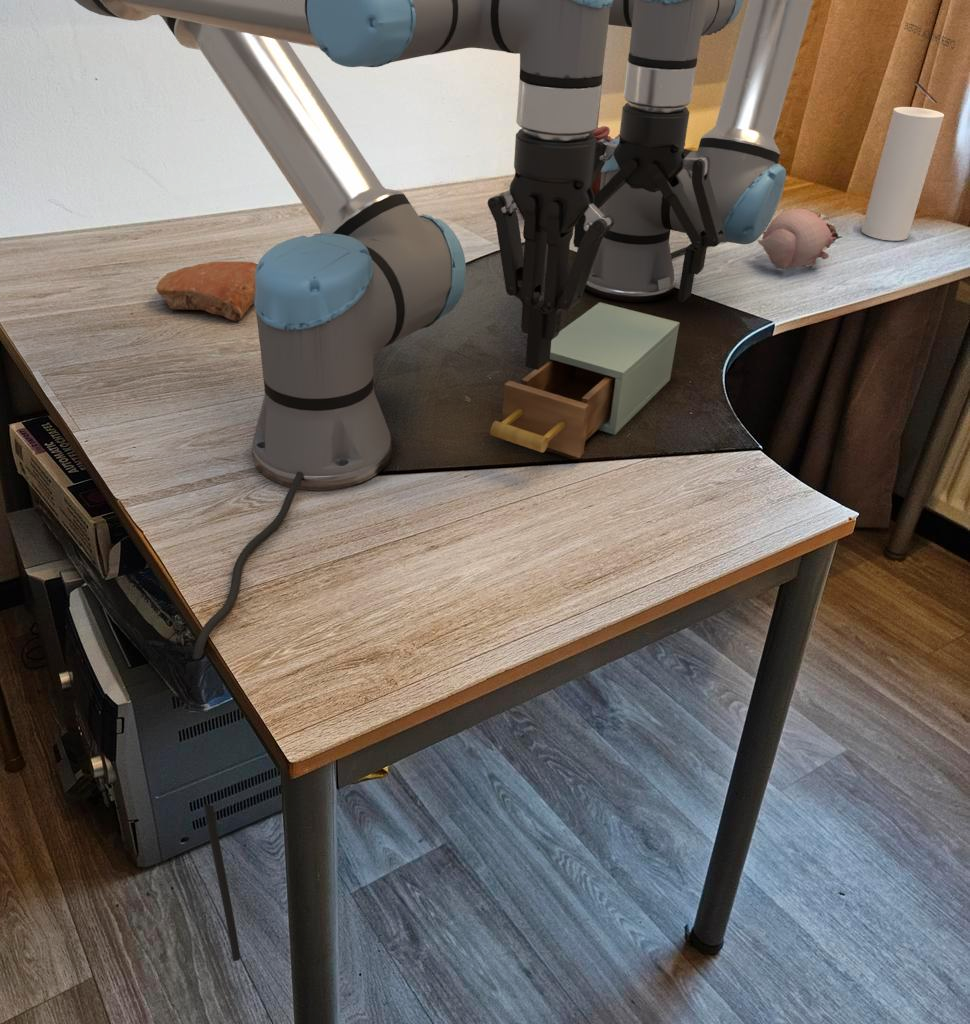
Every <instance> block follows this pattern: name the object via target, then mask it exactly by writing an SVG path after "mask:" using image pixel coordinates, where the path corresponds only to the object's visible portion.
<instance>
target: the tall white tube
mask: <svg viewBox="0 0 970 1024" xmlns="http://www.w3.org/2000/svg"><path fill="white" fill-rule="evenodd" d="M904 30H905V31H907V32H910V33H912V32H913V34H915V33H916V34H917V35H918V36H921V37H923V38H924V37H925V39H928V40H930V41H931V40H932V41H933V42H937V40H938V44H939V43H940V44H942V45H943V46H946V47H947V48H948V47H949V49H950V48H951V49H952V50H953V49H954V48H955V45H956V40H954V39H951V38H948V37H946V36H942V37H941V34H938V35H937V33H934V32H933V31H931V30H926V29H923V34H921V31H922V27H920V26H918V25H915V24H912V23H909V22H908V21H907V22H905V26H904ZM927 33H928V35H927ZM940 37H941V38H940ZM940 39H941V42H940ZM945 39H946V40H945ZM944 42H945V43H944ZM952 43H954V44H953V46H952ZM913 84H914V85H915V86H916V87H917V88H919V90H920V91H921V92H922V95H923V96H924V97H926V98H928V99H929V100H930V101H931V102H932V103H934V104H937V103H938V101H937V100H936V99H935V98H934V97H932V95H931V94H930V93H929V92H928V91H927V90H926V89H925V88H924V87H923V86H922V85H921V84H920V83H919V82H918V81H915V80H914V82H913ZM944 117H945V114H944V113H943V112H940V111H937V110H936V109H935V110H934V109H929V108H924V107H915V106H914V107H913V106H897V107H894V108H893V110H892V114H891V118H890V122H889V126H888V129H887V133H886V137H885V140H884V145H883V148H882V151H881V155H880V159H879V163H878V166H877V170H876V174H875V177H874V182H873V185H872V189H871V193H870V196H869V201H868V203H867V208H866V212H865V215H864V220H863V222H862V227H861V232H862V233H863V234H864V235H866V236H868V237H871V238H873V239H878V240H884V241H893V242H895V241H897V242H898V241H899V242H900V241H905V240H907V239H909V236H910V233H911V229H912V226H913V222H914V219H915V215H916V211H917V210H918V209H917V208H918V206H919V202H920V198H921V195H922V191H923V188H924V184H925V182H926V178H927V175H928V171H929V169H930V165H931V161H932V158H933V155H934V151H935V148H936V145H937V142H938V141H937V140H938V138H939V134H940V130H941V127H942V124H943V121H944Z"/></svg>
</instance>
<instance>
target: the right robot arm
mask: <svg viewBox="0 0 970 1024" xmlns="http://www.w3.org/2000/svg"><path fill="white" fill-rule="evenodd" d="M744 1H745V0H613V4H611V5H612V6H611V7H610V15H609V23H608V26H617V27H624V28H625V27H626V28H631V31H630V32H631V33H630V41H629V42H630V43H629V50H628V51H629V52H628V58H627V66H626V74H625V83H624V89H623V99H624V100H625V101H626V103H624V105H623V106H622V109H621V111H622V112H621V119H620V126H619V134H620V137H618V138H616V139H615V138H613V139H614V140H612V141H611V142H610V141H609V140H608V139H607V138H604V139H601V140H599V141H597V142H596V150H595V160H594V169H593V176H592V180H591V186H592V184H593V183H594V181H595V179H596V178H597V176H598V174H599V173H600V171H601V172H602V174H601V184H600V191H599V192H598V193H597V194H596V195H595V196H594V205H595V206H596V207H597V208H598V209H599V210H600V211H601V212H602V213H603V214H604V215H607V214H610V215H612V216H613V217H614V220H615V222H614V225H613V226H612V227H611V228H610V230H609V231H608V232H607V233H606V234H605V236H604V237H603V238H602V241H601V244H600V247H599V250H598V253H597V255H596V258H595V261H594V264H593V267H592V269H591V272H590V275H589V278H588V281H587V283H586V286H585V289H584V291H587V292H589V293H591V294H593V295H595V296H597V297H600V298H603V299H608V300H612V301H617V302H625V303H626V302H628V303H629V302H630V303H646V302H647V303H648V302H654V301H659V300H662V299H664V298H667V297H669V296H670V295H671V294H672V293H673V291H674V286H675V281H676V279H675V271H674V265H673V259H672V258H674V257H677V256H679V255H682V254H684V256H683V262H682V269H681V274H680V282H679V289H678V293H677V301H679V302H685V301H686V300H687V299H688V298H689V297H691V296H692V292H693V286H694V279H695V275H696V276H697V275H699V274H700V273H701V272H702V271H703V270H704V267H705V262H706V256H707V251H708V248H709V247H710V248H711V247H712V248H715V247H717V246H718V245H720V244H721V243H723V244H724V243H732V244H737V245H750V244H753V243H754V242H756V241H758V240H759V239H760V237H761V236H763V233H764V232H766V230H767V228H768V227H769V225H770V224H771V222H772V220H773V217H774V215H775V213H776V211H777V208H778V206H779V204H780V201H781V199H782V195H783V193H784V185H785V184H786V179H787V170H786V168H785V167H784V166H783V165H781V164H780V163H779V160H780V157H781V150H780V149H779V147H778V145H777V144H776V141H775V135H776V131H777V129H778V125H779V121H780V118H781V114H782V111H783V107H784V104H785V100H786V97H787V93H788V89H789V87H790V83H791V79H792V77H793V74H794V73H793V72H794V69H795V66H796V62H797V59H798V55H799V51H800V48H801V44H802V41H803V37H804V35H805V31H806V27H807V23H808V21H809V17H810V13H811V10H812V6H813V3H814V0H748V3H747V6H746V10H745V14H744V16H743V17H744V18H743V21H742V24H741V28H740V32H739V35H738V40H737V44H736V47H735V50H734V54H733V57H732V62H731V65H730V69H729V73H728V76H727V81H726V84H725V88H724V92H723V96H722V99H721V102H720V107H719V110H718V113H717V118H716V122H715V125H714V127H713V128H711V130H709V131H707V132H706V133H705V134H703V135H702V136H700V137H701V138H700V140H699V144H698V147H697V150H692V149H686V148H685V146H686V138H687V132H688V126H689V125H688V124H689V118H690V111H689V109H688V107H687V106H689V105H690V104H691V102H692V98H693V90H694V86H695V78H696V71H697V65H698V57H699V50H700V46H701V45H700V44H701V39H702V37H704V36H711V35H713V34H717V33H718V32H721V31H722V30H723V29H725V28H726V27H727V26H729V25H730V24H731V23H732V22H733V21H735V19H736V18H737V16H738V15H739V13H740V12H741V9H742V7H743V4H744ZM585 220H586V218H585V215H584V216H583V218H582V219H581V220H580V221H579V222H578V223H577V224H576V226H575V227H574V230H573V242H572V243H573V246H574V248H578V247H579V244H580V242H581V239H582V237H583V236H584V234H585V233H586V231H584V223H585ZM671 231H673V232H678V233H682V234H686V236H687V237H688V239H689V241H690V244H689V245H686V246H685V247H681V248H679V249H678V250H675V251H672V252H671V246H670V236H671Z"/></svg>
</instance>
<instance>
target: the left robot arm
mask: <svg viewBox="0 0 970 1024" xmlns="http://www.w3.org/2000/svg"><path fill="white" fill-rule="evenodd" d="M74 2H76V3H77V4H78V5H79V6H81V7H83V8H84V9H86V10H87V11H89V12H92V13H94V14H97V15H99V16H105V17H111V18H117V19H122V20H126V21H127V20H128V21H135V22H136V21H137V22H138V21H143V20H146V19H149V18H150V17H152V16H159V17H161V18H162V20H163V21H164V23H165V24H166V26H167V27H168V29H169V30H170V31H171V33H172V34H173V36H174V37H175V39H176V41H177V42H178V43H179V44H180V45H181V46H182V47H185V48H187V49H191V50H192V49H193V50H198V51H200V52H201V53H202V55H203V56H204V58H205V59H206V61H207V62H208V64H209V65H210V67H211V68H212V70H213V72H214V73H215V74H216V76H217V77H218V79H219V80H220V82H221V83H222V85H223V86H224V88H225V90H226V91H227V93H228V94H229V96H230V97H231V98H232V100H233V101H234V103H235V105H237V108H238V109H239V110H240V112H241V113H242V115H243V116H244V119H245V120H246V121H247V122H248V124H249V126H250V127H251V128H252V130H253V132H254V133H255V135H256V136H257V138H258V140H260V142H261V144H262V145H263V147H264V148H265V150H266V151H267V152H268V154H269V156H270V157H271V159H272V160H273V161H274V163H275V164H276V166H277V167H278V169H279V171H280V172H281V173H282V175H283V176H284V178H285V179H286V181H287V182H288V184H289V186H290V187H291V189H292V190H293V192H294V193H295V195H296V196H297V197H298V199H299V200H300V202H301V204H302V205H303V206H304V209H306V211H307V213H308V214H309V216H310V217H311V219H312V220H313V222H314V223H315V224H316V226H317V228H318V229H319V230H320V233H314V234H313V235H311V236H306V235H300V236H296V237H293V238H289V239H287V240H284V241H282V242H280V243H278V244H276V245H273V246H272V247H271V248H270V249H268V250H267V251H266V252H265V253H264V254H263V255H262V256H261V257H260V259H259V261H258V262H257V264H258V265H257V267H256V271H255V289H256V291H255V297H254V303H253V305H254V310H255V313H256V322H257V331H258V340H259V349H260V357H261V358H260V359H261V368H262V379H263V388H264V390H263V391H264V396H263V400H262V404H261V408H260V412H259V415H258V419H257V423H256V427H255V430H254V434H253V439H252V455H253V460H254V464H255V467H256V468H257V470H258V471H259V472H260V473H261V474H262V475H263V476H265V477H266V478H268V479H269V480H271V481H273V482H275V483H278V484H280V485H283V486H286V487H289V488H288V491H287V493H286V494H285V495H286V496H285V497H284V500H283V503H282V505H281V507H280V510H279V512H278V513H277V514H276V516H275V517H274V519H273V520H272V521H271V523H270V524H268V526H266V527H265V528H264V529H263V530H262V531H260V532H259V533H258V534H257V535H256V536H254V537H253V538H252V539H251V540H250V541H249V542H248V543H246V545H245V547H244V548H243V549H242V550H241V552H240V553H239V555H238V557H237V559H236V561H235V563H234V566H233V570H232V575H231V580H230V587H229V591H228V594H227V598H226V600H225V602H224V604H223V605H222V607H221V608H220V609H219V610H218V611H217V612H216V613H214V614H213V615H212V616H211V617H210V618H209V619H208V620H207V622H206V623H205V624H204V625H203V627H202V629H201V631H200V632H199V634H198V636H197V639H196V640H195V645H194V648H193V652H192V656H191V657H192V659H193V660H199V659H201V658H202V657H203V654H204V651H205V647H206V643H207V641H208V639H209V636H210V635H211V633H212V632H213V631H214V629H215V628H216V627H217V626H218V625H219V624H220V623H221V622H222V621H223V620H224V619H225V618H226V617H227V616H228V615H229V613H231V611H232V609H233V607H234V606H235V603H236V601H237V599H238V597H239V592H240V587H241V582H242V574H243V569H244V566H245V564H246V562H247V559H248V558H249V557H250V555H251V553H252V552H253V551H254V550H255V549H257V547H258V546H260V545H261V544H262V543H263V542H264V541H265V540H267V539H268V538H269V537H270V536H271V535H272V534H274V532H276V530H277V529H278V528H279V527H280V526H281V524H282V523H283V522H284V520H285V519H286V517H287V515H288V513H289V511H290V509H291V506H292V503H293V501H294V498H295V496H296V494H297V491H298V489H301V490H312V491H314V490H315V491H323V490H327V491H328V490H337V489H342V488H348V487H351V486H355V485H358V484H361V483H363V482H366V481H368V480H370V479H373V478H374V477H375V476H377V475H378V474H380V473H381V472H382V471H383V470H384V469H385V468H386V467H387V466H388V464H389V463H390V461H391V458H392V436H391V435H392V434H391V432H390V430H389V427H388V424H387V422H386V419H385V417H384V413H383V411H382V408H381V406H380V403H379V400H378V398H377V395H376V393H375V385H374V354H375V353H376V352H378V351H380V350H382V349H384V348H385V347H387V346H390V345H392V344H394V343H396V342H398V341H399V340H401V339H404V338H405V337H407V336H409V335H411V334H413V333H415V332H417V331H420V330H422V329H427V328H430V327H431V326H433V325H434V324H435V323H436V322H437V321H439V320H440V319H441V318H443V317H444V316H446V315H448V314H449V313H450V312H451V311H452V310H453V309H454V308H456V306H457V305H458V303H459V301H460V300H461V298H462V295H463V293H464V291H465V287H466V283H465V277H466V275H467V265H466V257H465V254H464V250H463V247H462V244H461V242H460V240H459V237H458V236H457V235H456V233H455V232H454V231H453V229H452V227H450V226H449V225H448V224H447V223H446V222H444V221H443V220H442V219H440V218H434V217H433V216H432V215H427V214H420V215H419V214H418V213H417V211H416V209H415V207H414V206H413V205H412V203H411V202H410V201H409V199H408V198H407V196H406V194H405V192H403V191H400V190H396V189H390V188H386V187H385V186H383V185H382V182H381V181H380V180H379V177H377V175H376V174H375V172H374V171H373V169H372V168H371V166H370V164H369V163H368V161H367V160H366V158H365V156H364V155H363V154H362V152H361V151H360V149H359V148H358V146H357V145H356V143H355V142H354V140H353V139H352V137H351V136H350V134H349V132H348V131H347V130H346V127H344V125H343V123H342V122H341V121H340V119H339V117H338V116H337V114H336V113H335V111H334V110H333V108H332V107H331V105H330V104H329V101H328V100H327V99H326V98H325V96H324V94H323V93H322V91H321V90H320V88H319V87H318V85H317V84H316V82H315V81H314V80H313V77H312V76H311V74H310V73H309V72H308V70H307V68H306V67H305V65H304V64H303V62H302V60H301V59H300V58H299V56H298V55H297V53H296V52H295V50H294V49H293V47H292V45H291V44H290V43H292V44H296V45H301V46H306V47H311V48H315V49H319V50H320V51H321V52H323V53H324V54H325V56H327V57H328V58H329V59H330V60H331V61H332V62H333V63H335V64H337V65H340V66H342V67H345V68H360V67H363V68H380V67H383V66H386V65H389V64H391V63H395V62H400V61H404V60H405V61H406V60H410V59H414V58H419V57H420V58H421V57H425V56H431V55H438V54H443V53H447V52H453V51H459V50H465V49H481V50H489V51H498V52H504V53H508V54H514V55H515V54H517V55H518V54H519V81H518V95H517V105H516V106H517V107H516V119H515V123H516V124H517V125H518V126H519V127H520V129H519V130H518V131H517V132H516V133H515V143H514V158H513V160H514V161H513V169H514V176H513V178H512V180H511V181H510V184H509V189H508V190H506V191H503V192H500V193H499V194H496V195H494V196H492V197H490V198H488V199H487V207H488V209H489V211H490V214H491V215H492V217H493V220H494V223H495V227H496V234H497V239H498V240H497V241H498V247H499V253H500V260H501V266H502V267H501V268H502V273H503V280H504V286H505V292H506V294H507V295H508V296H511V297H513V296H514V297H516V298H517V299H518V300H520V301H521V306H522V308H521V320H520V321H521V323H520V329H521V332H522V333H523V334H527V339H526V352H525V366H524V367H526V368H530V369H533V370H535V369H536V370H538V369H540V368H541V367H542V366H544V365H545V364H546V363H548V362H549V361H550V351H551V340H552V339H554V338H555V337H557V336H558V334H559V332H560V331H561V323H562V314H563V313H562V312H563V310H566V311H567V310H569V309H571V308H572V307H574V306H575V305H576V304H578V303H579V302H580V301H582V298H583V294H584V291H585V286H586V283H587V281H588V278H589V275H590V272H591V269H592V267H593V264H594V261H595V258H596V255H597V253H598V250H599V247H600V244H601V241H602V238H603V237H604V236H605V234H606V233H607V232H608V231H609V230H610V228H611V227H612V226H613V225H614V222H615V220H614V217H613V216H612V215H610V214H607V215H604V214H603V213H602V212H601V211H600V210H599V209H598V208H597V207H596V206H595V205H594V194H593V192H592V188H591V180H592V176H593V169H594V160H595V150H596V138H595V136H594V135H593V134H592V133H591V132H593V131H594V130H596V129H597V127H598V128H599V117H600V107H601V97H602V88H603V79H604V78H603V74H604V64H605V63H604V62H605V57H606V56H605V55H606V48H607V47H606V46H607V39H608V30H609V25H608V23H609V15H610V7H611V6H612V5H611V4H613V0H74ZM517 210H518V212H519V214H520V216H521V217H522V220H523V231H522V234H521V228H520V221H519V217H518V213H517ZM584 215H585V218H586V220H585V223H584V231H586V233H585V234H584V236H583V237H582V239H581V242H580V244H579V247H577V251H576V253H575V256H574V259H573V263H572V265H571V268H570V270H569V273H568V268H569V259H570V249H571V247H570V246H571V240H572V239H573V237H574V230H575V226H576V224H577V223H578V222H579V221H580V220H581V219H582V218H583V216H584ZM521 235H522V236H521ZM522 237H523V239H524V249H523V242H522ZM546 252H547V253H546ZM546 255H547V256H546ZM545 265H546V266H545ZM545 267H546V269H545ZM544 277H545V279H544ZM544 280H545V281H544ZM543 288H544V289H543ZM543 290H544V291H543ZM541 298H543V299H542V300H540V299H541ZM203 807H204V814H205V819H206V825H207V830H208V836H209V841H210V846H211V851H212V856H213V861H214V867H215V872H216V876H217V882H218V887H219V891H220V897H221V902H222V907H223V911H224V917H225V922H226V927H227V928H226V929H227V933H228V938H229V944H230V950H231V951H230V952H231V956H232V960H233V962H238V961H239V960H240V959H241V952H240V951H241V950H240V946H239V940H238V932H237V927H236V922H235V916H234V911H233V910H234V909H233V906H232V900H231V895H230V889H229V884H228V879H227V873H226V869H225V863H224V858H223V853H222V848H221V842H220V837H219V832H218V826H217V820H216V813H215V807H214V805H211V804H206V803H204V804H203Z"/></svg>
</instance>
